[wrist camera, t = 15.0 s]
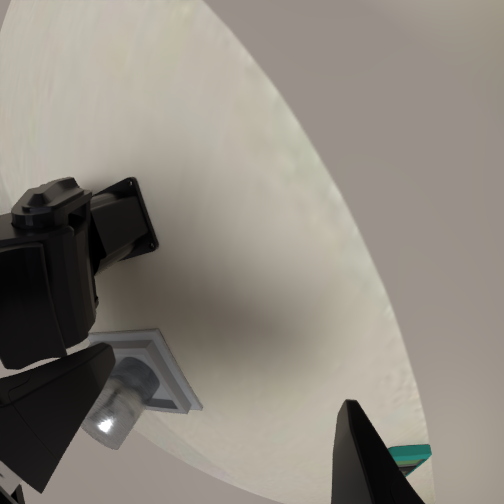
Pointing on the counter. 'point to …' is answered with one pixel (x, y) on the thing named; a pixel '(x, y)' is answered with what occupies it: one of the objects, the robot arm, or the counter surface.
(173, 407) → the holder
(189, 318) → the counter surface
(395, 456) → the digital multimeter
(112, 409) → the metal cylinder
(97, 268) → the robot arm
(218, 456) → the counter surface
